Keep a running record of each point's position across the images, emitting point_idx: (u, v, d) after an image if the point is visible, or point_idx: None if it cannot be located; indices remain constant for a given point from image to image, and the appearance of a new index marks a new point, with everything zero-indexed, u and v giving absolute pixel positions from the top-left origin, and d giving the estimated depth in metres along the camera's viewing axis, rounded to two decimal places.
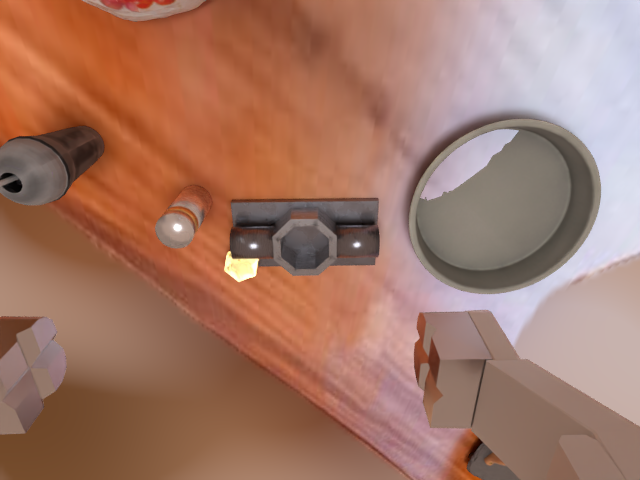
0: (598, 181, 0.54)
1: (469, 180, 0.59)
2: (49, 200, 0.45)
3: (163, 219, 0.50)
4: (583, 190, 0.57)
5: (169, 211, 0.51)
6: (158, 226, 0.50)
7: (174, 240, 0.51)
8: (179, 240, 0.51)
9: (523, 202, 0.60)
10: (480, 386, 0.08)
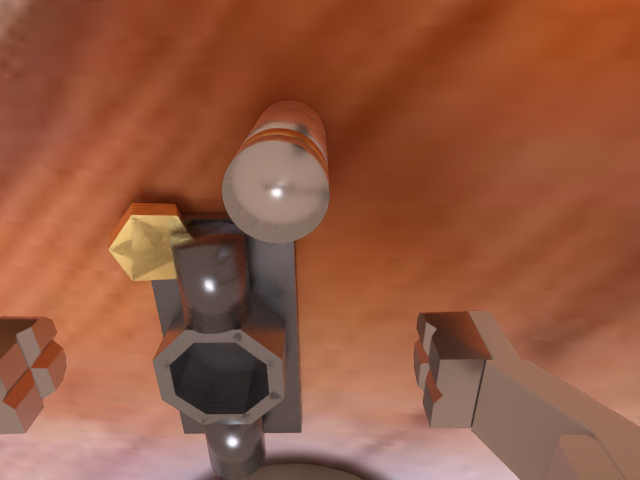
0: None
1: None
2: None
3: (314, 171, 0.17)
4: None
5: (327, 174, 0.18)
6: (291, 153, 0.17)
7: (247, 191, 0.18)
8: (248, 204, 0.18)
9: None
10: (480, 386, 0.08)
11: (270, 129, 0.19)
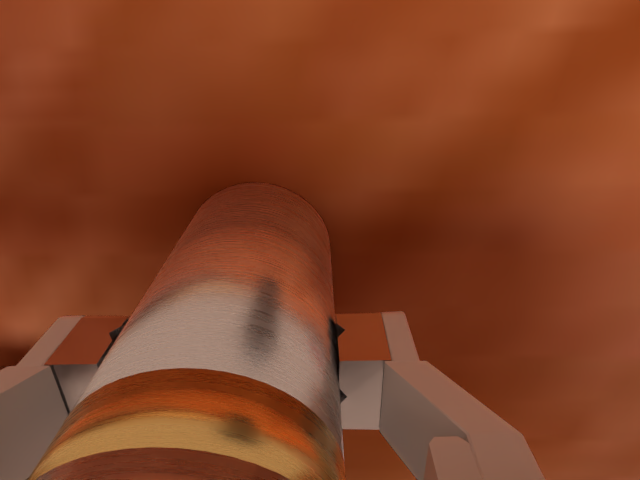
0: None
1: None
2: None
3: None
4: None
5: None
6: None
7: None
8: None
9: None
10: (382, 387, 0.08)
11: (153, 381, 0.06)
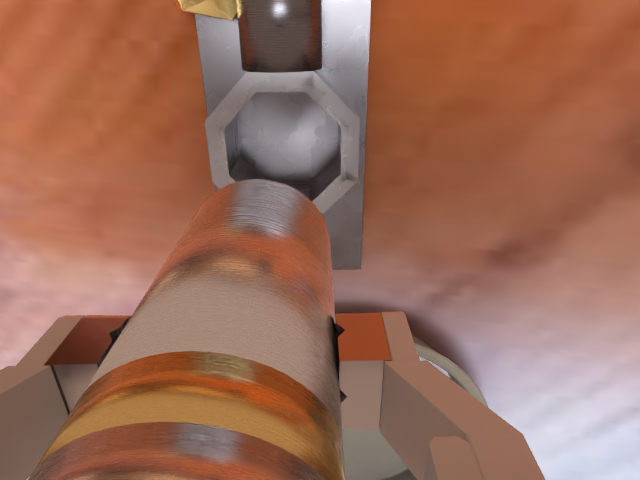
0: None
1: None
2: None
3: None
4: None
5: None
6: None
7: None
8: None
9: (344, 443, 0.42)
10: (382, 387, 0.08)
11: (161, 362, 0.06)
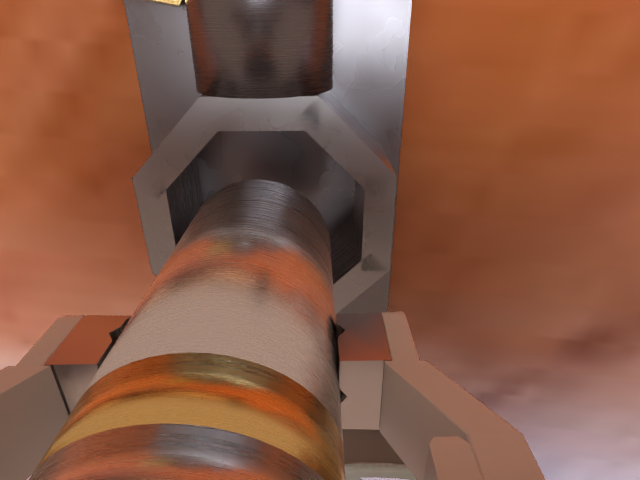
0: None
1: None
2: None
3: None
4: None
5: None
6: None
7: None
8: None
9: None
10: (383, 387, 0.08)
11: (161, 364, 0.06)
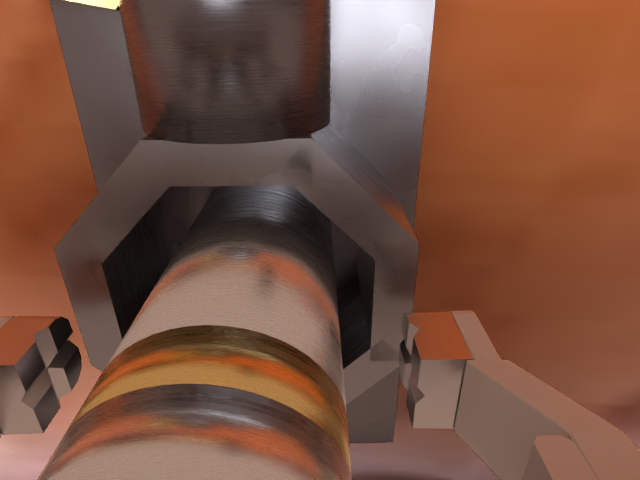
0: None
1: None
2: None
3: None
4: None
5: None
6: None
7: None
8: None
9: None
10: (462, 386, 0.08)
11: (181, 335, 0.06)
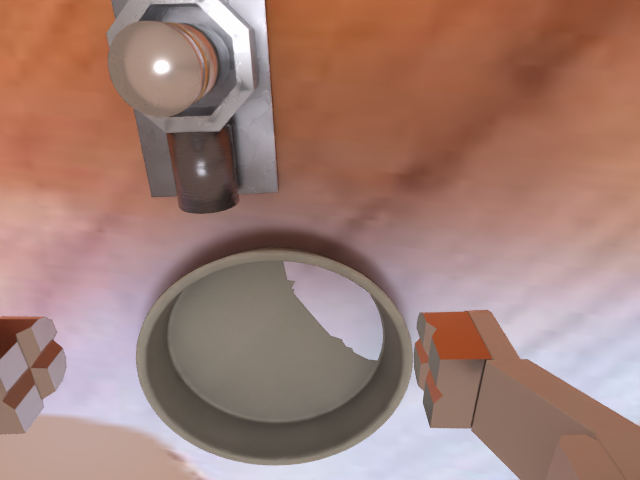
0: (329, 455, 0.44)
1: None
2: None
3: (183, 47, 0.21)
4: (309, 437, 0.45)
5: (201, 56, 0.22)
6: (162, 31, 0.20)
7: (129, 67, 0.21)
8: (132, 80, 0.21)
9: (283, 377, 0.44)
10: (480, 386, 0.08)
11: None
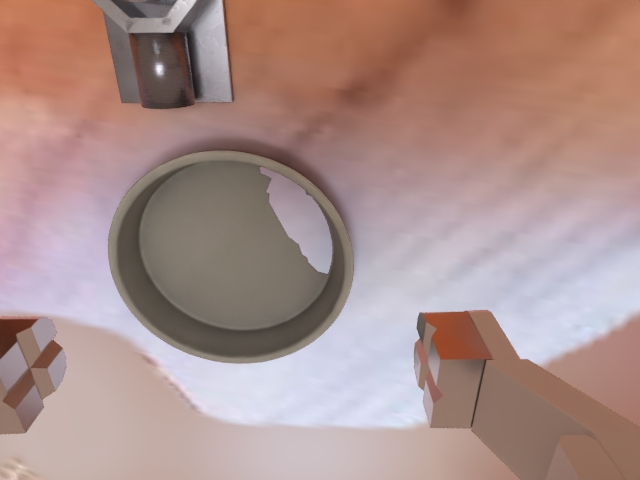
0: (282, 355, 0.49)
1: (267, 220, 0.46)
2: None
3: None
4: (266, 341, 0.50)
5: None
6: None
7: None
8: None
9: (243, 285, 0.49)
10: (480, 386, 0.08)
11: None
